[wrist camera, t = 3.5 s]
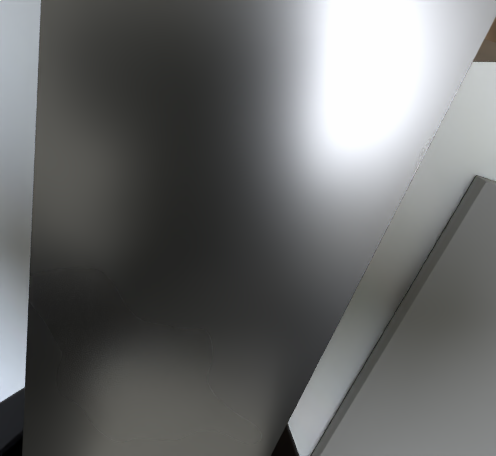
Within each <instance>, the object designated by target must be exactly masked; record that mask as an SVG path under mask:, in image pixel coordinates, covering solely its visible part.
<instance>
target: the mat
mask: <svg viewBox="0 0 496 456" xmlns="http://www.w3.org/2000/svg"><path fill="white" fill-rule="evenodd" d="M311 456H496V182H495V181H492V180H489V179H486V178H483V177H480V176H477V175H476V177H475V179H474V180H473V182H472V184H471V185H470V187H469V189H468V191H467V192H466V194H465V196H464V197H463V199H462V201H461V202H460V204H459V206H458V207H457V209H456V211H455V213H454V214H453V216H452V218H451V219H450V221H449V223H448V224H447V226H446V228H445V230H444V231H443V233H442V235H441V236H440V238H439V240H438V241H437V243H436V245H435V246H434V248H433V250H432V252H431V253H430V255H429V257H428V258H427V260H426V262H425V263H424V265H423V267H422V269H421V270H420V272H419V274H418V275H417V277H416V279H415V280H414V282H413V284H412V286H411V287H410V289H409V291H408V292H407V294H406V296H405V297H404V299H403V301H402V302H401V304H400V306H399V308H398V309H397V311H396V313H395V314H394V316H393V318H392V319H391V321H390V323H389V325H388V326H387V328H386V330H385V331H384V333H383V335H382V336H381V338H380V340H379V341H378V343H377V345H376V347H375V348H374V350H373V352H372V353H371V355H370V357H369V358H368V360H367V362H366V364H365V365H364V367H363V369H362V370H361V372H360V374H359V375H358V377H357V379H356V381H355V382H354V384H353V386H352V387H351V389H350V391H349V392H348V394H347V396H346V397H345V399H344V401H343V403H342V404H341V406H340V408H339V409H338V411H337V413H336V414H335V416H334V418H333V420H332V421H331V423H330V425H329V426H328V428H327V430H326V431H325V433H324V435H323V436H322V438H321V440H320V442H319V443H318V445H317V447H316V448H315V450H314V452H313V453H312V455H311Z"/></svg>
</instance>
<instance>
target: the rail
mask: <svg viewBox="0 0 496 456" xmlns="http://www.w3.org/2000/svg"><path fill="white" fill-rule="evenodd" d="M495 17H496V0H41V16H40V40H39V64H38V88H37V112H36V136H35V160H34V184H33V208H32V232H31V256H30V280H29V304H28V328H27V352H26V376H25V400H24V424H23V448H22V456H271V454H272V452H273V450H274V448H275V446H276V444H277V442H278V440H279V438H280V436H281V435H282V433H283V431H284V429H285V427H286V425H287V423H288V421H289V419H290V417H291V415H292V413H293V411H294V409H295V407H296V405H297V403H298V401H299V399H300V397H301V396H302V394H303V392H304V390H305V388H306V386H307V384H308V382H309V380H310V378H311V376H312V374H313V372H314V370H315V368H316V366H317V364H318V362H319V360H320V358H321V356H322V355H323V353H324V351H325V349H326V347H327V345H328V343H329V341H330V339H331V337H332V335H333V333H334V331H335V329H336V327H337V325H338V323H339V321H340V319H341V317H342V316H343V314H344V312H345V310H346V308H347V306H348V304H349V302H350V300H351V298H352V296H353V294H354V292H355V290H356V288H357V286H358V284H359V282H360V280H361V278H362V277H363V275H364V273H365V271H366V269H367V267H368V265H369V263H370V261H371V259H372V257H373V255H374V253H375V251H376V249H377V247H378V245H379V243H380V241H381V239H382V238H383V236H384V234H385V232H386V230H387V228H388V226H389V224H390V222H391V220H392V218H393V216H394V214H395V212H396V210H397V208H398V206H399V204H400V202H401V200H402V198H403V197H404V195H405V193H406V191H407V189H408V187H409V185H410V183H411V181H412V179H413V177H414V175H415V173H416V171H417V169H418V167H419V165H420V163H421V161H422V159H423V158H424V156H425V154H426V152H427V150H428V148H429V146H430V144H431V142H432V140H433V138H434V136H435V134H436V132H437V130H438V128H439V126H440V124H441V122H442V120H443V119H444V117H445V115H446V113H447V111H448V109H449V107H450V105H451V103H452V101H453V99H454V97H455V95H456V93H457V91H458V89H459V87H460V85H461V83H462V81H463V79H464V78H465V76H466V74H467V72H468V70H469V68H470V66H471V64H472V62H473V60H474V58H475V56H476V54H477V52H478V50H479V48H480V46H481V44H482V42H483V40H484V39H485V37H486V35H487V33H488V31H489V29H490V27H491V25H492V23H493V21H494V19H495Z"/></svg>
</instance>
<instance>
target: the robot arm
mask: <svg viewBox="0 0 496 456" xmlns="http://www.w3.org/2000/svg"><path fill="white" fill-rule="evenodd" d="M24 400H25V387H24V388H23V389H21V390H19V391H18V392H16V393H15V394H13V395H11V396H10V397H8V398H7V399H5V400H4V401H2V402H0V456H22V448H23V424H24ZM271 456H299V454H298V451H297V448H296V445H295V443H294V440H293V437H292V434H291V431H290V429H289V426H288V423H287V425H286V427H285V429H284V431H283V433H282V435H281V436H280V438H279V440H278V442H277V444H276V446H275V448H274V450H273V452H272V454H271Z"/></svg>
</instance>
